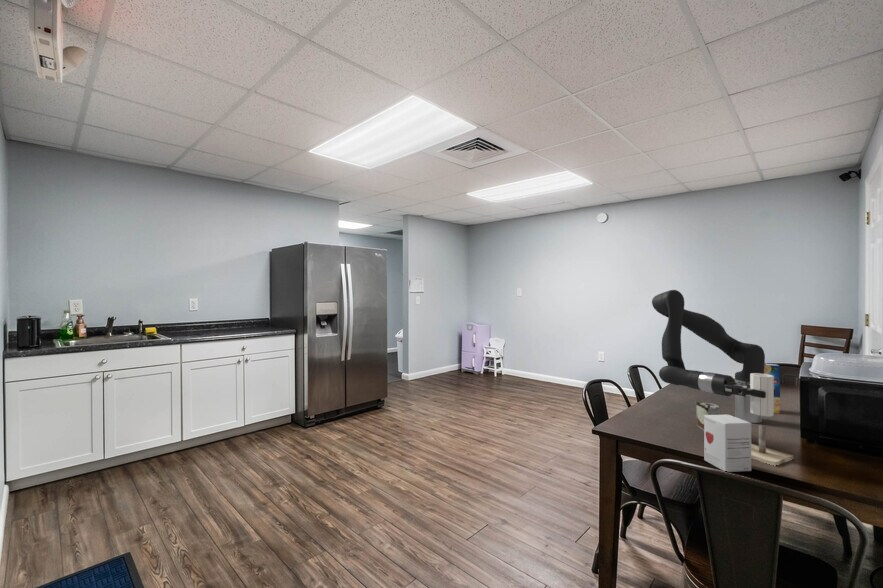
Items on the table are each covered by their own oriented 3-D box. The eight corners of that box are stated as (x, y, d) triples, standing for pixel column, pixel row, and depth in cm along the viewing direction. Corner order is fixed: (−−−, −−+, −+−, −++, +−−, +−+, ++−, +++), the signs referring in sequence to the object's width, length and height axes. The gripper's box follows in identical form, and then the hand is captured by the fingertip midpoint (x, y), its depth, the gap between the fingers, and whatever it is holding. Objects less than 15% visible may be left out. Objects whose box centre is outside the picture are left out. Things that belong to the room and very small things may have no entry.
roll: (755, 410, 135) (755, 372, 135) (777, 414, 130) (777, 375, 130) (746, 412, 133) (746, 374, 133) (768, 417, 127) (768, 377, 127)
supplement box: (702, 460, 128) (702, 414, 128) (728, 459, 128) (728, 413, 129) (725, 472, 119) (725, 423, 119) (752, 471, 119) (752, 422, 119)
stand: (751, 446, 139) (751, 418, 139) (793, 459, 128) (793, 428, 128) (732, 452, 134) (732, 422, 134) (774, 466, 123) (774, 433, 123)
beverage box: (780, 413, 179) (780, 365, 179) (751, 411, 183) (751, 364, 183) (773, 409, 186) (773, 363, 186) (745, 407, 189) (745, 361, 189)
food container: (727, 435, 150) (726, 409, 150) (709, 434, 152) (709, 408, 152) (711, 425, 162) (711, 401, 163) (695, 424, 164) (695, 400, 164)
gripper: (704, 375, 141) (759, 384, 126) (727, 371, 147) (781, 380, 132) (704, 395, 141) (759, 407, 126) (727, 391, 147) (781, 402, 132)
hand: (770, 393), depth 129 cm, fingers closed on roll, 6 cm apart
